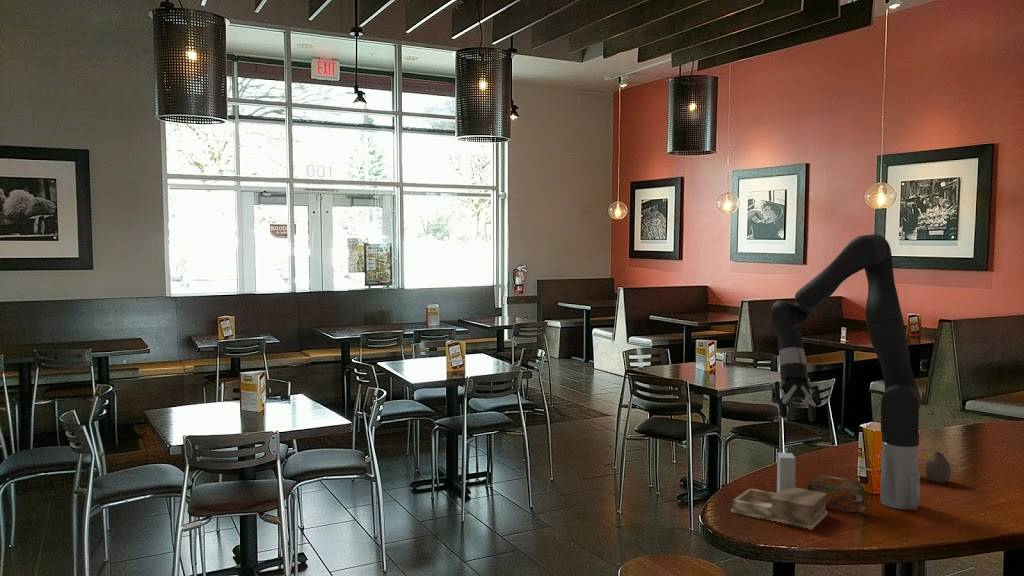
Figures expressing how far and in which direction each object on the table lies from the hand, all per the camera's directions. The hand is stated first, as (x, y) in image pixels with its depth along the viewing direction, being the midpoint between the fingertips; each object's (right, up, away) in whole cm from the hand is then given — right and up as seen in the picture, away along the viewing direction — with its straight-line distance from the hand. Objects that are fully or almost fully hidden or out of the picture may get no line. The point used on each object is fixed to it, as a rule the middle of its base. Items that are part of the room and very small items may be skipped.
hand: (798, 419), depth 220 cm
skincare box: (-5, -22, -3) cm, 23 cm away
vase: (+46, -21, +11) cm, 52 cm away
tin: (+6, -22, -12) cm, 26 cm away
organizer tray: (-12, -22, -17) cm, 30 cm away
